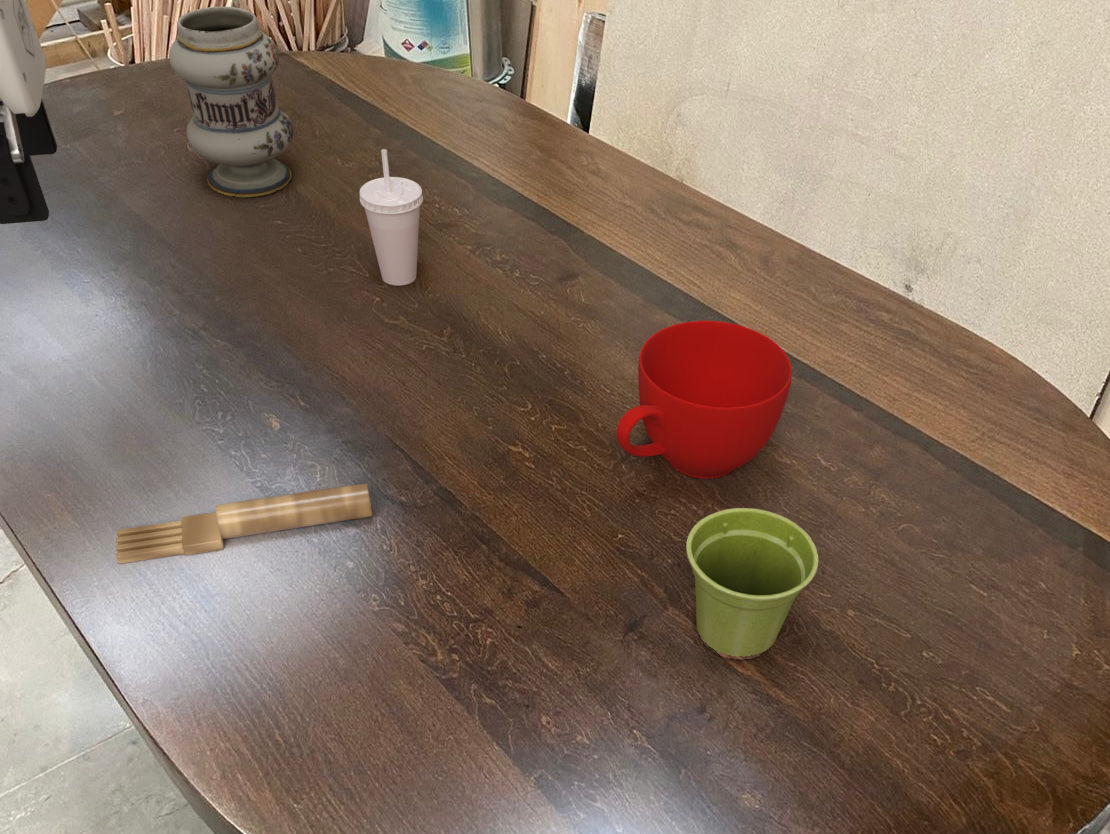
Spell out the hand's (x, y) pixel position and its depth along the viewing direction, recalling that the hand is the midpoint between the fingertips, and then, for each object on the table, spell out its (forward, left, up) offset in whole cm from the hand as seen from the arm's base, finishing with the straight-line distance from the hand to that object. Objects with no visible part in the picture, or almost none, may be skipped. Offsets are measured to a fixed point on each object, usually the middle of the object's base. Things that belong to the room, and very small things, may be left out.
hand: (29, 185), depth 72 cm
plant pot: (+44, -28, -26) cm, 58 cm away
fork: (+9, -8, -26) cm, 29 cm away
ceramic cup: (+47, -8, -26) cm, 54 cm away
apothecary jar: (+13, +55, -26) cm, 62 cm away
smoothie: (+27, +29, -26) cm, 48 cm away
